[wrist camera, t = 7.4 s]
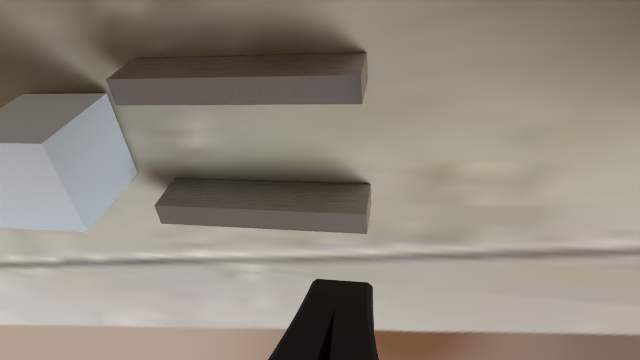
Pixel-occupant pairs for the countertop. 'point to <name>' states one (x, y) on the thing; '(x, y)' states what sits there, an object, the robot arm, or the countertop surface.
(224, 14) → the countertop surface
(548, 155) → the countertop surface
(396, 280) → the countertop surface
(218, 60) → the grey flat bars
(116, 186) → the block
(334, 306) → the robot arm
